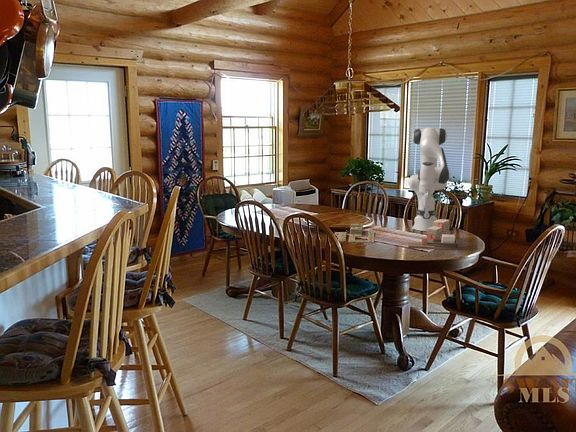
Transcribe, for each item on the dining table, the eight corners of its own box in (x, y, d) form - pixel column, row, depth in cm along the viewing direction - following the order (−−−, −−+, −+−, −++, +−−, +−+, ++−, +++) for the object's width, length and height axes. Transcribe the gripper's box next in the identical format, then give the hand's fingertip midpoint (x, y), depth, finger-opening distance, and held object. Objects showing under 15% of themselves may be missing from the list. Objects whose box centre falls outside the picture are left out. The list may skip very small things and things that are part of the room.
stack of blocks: (435, 244, 310) (436, 225, 307) (426, 242, 313) (427, 223, 311) (449, 238, 326) (449, 219, 324) (439, 236, 330) (440, 218, 327)
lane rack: (408, 243, 312) (408, 235, 311) (455, 245, 306) (456, 237, 305) (408, 248, 301) (408, 239, 300) (457, 250, 295) (458, 241, 294)
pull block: (421, 243, 307) (421, 233, 306) (453, 244, 304) (453, 234, 302) (422, 245, 302) (422, 235, 301) (454, 246, 298) (455, 236, 297)
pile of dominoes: (335, 231, 352) (335, 223, 351) (374, 232, 348) (374, 224, 347) (331, 242, 318) (331, 234, 317) (374, 243, 314) (374, 235, 313)
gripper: (434, 191, 288) (433, 215, 290) (430, 187, 308) (429, 209, 310) (422, 191, 289) (421, 214, 291) (420, 187, 309) (419, 209, 311)
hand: (425, 212), depth 301 cm, fingers open, 8 cm apart
